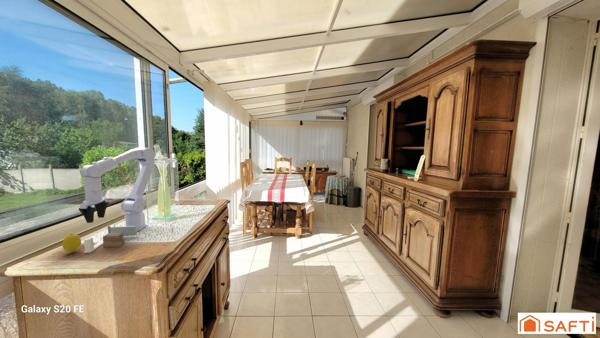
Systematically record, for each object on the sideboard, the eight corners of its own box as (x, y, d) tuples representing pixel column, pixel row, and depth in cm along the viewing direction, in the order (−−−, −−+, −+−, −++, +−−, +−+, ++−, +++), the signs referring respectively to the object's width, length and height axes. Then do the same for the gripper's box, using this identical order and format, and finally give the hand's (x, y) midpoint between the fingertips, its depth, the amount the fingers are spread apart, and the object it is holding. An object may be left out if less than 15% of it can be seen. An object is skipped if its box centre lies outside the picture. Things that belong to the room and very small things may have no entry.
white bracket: (110, 236, 114) (110, 225, 113) (116, 235, 114) (115, 225, 114) (83, 253, 96) (82, 240, 95) (90, 252, 96) (89, 239, 96)
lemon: (60, 256, 93) (58, 237, 92) (66, 251, 97) (64, 232, 97) (79, 253, 95) (77, 234, 94) (84, 248, 100) (82, 230, 99)
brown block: (109, 244, 105) (108, 233, 104) (124, 242, 106) (123, 232, 106) (103, 247, 101) (102, 236, 101) (119, 246, 102) (118, 235, 102)
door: (108, 237, 110) (107, 226, 110) (110, 235, 112) (109, 225, 112) (136, 235, 112) (135, 225, 112) (138, 234, 114) (137, 223, 114)
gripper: (94, 188, 113) (96, 215, 114) (70, 194, 98) (73, 225, 100) (110, 188, 114) (112, 215, 115) (90, 193, 100) (92, 224, 101)
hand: (95, 219), depth 107 cm, fingers open, 7 cm apart
